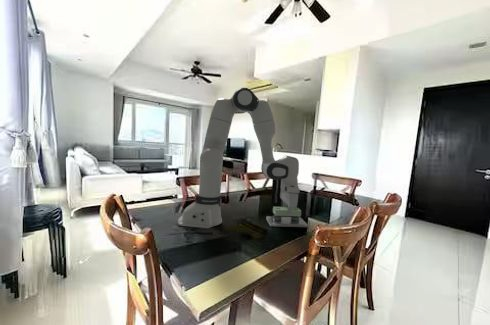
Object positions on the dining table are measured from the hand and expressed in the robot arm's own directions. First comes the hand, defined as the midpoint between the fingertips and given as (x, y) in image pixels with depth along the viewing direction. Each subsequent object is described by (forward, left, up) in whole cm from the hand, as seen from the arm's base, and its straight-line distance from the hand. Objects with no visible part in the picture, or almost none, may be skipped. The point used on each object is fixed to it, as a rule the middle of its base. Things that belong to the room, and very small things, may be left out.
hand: (286, 211), depth 121 cm
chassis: (0, 0, -7) cm, 7 cm away
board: (0, 0, -2) cm, 2 cm away
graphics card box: (0, +23, -7) cm, 24 cm away
